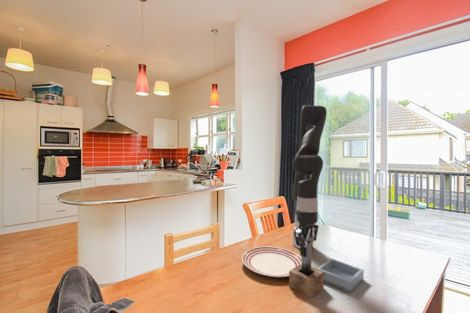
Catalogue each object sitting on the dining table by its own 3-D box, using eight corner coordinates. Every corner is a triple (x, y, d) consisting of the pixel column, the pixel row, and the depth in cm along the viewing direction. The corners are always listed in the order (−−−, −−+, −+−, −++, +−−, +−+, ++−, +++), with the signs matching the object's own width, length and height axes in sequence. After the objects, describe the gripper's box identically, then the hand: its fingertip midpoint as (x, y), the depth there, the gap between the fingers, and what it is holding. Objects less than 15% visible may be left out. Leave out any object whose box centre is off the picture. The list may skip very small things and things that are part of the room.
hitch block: (289, 286, 87) (289, 270, 87) (302, 278, 93) (302, 263, 93) (311, 297, 80) (311, 280, 80) (323, 287, 86) (323, 271, 86)
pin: (296, 275, 87) (297, 236, 86) (303, 271, 90) (304, 233, 90) (308, 281, 83) (309, 240, 83) (315, 276, 86) (316, 236, 86)
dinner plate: (315, 265, 104) (315, 258, 104) (283, 292, 84) (283, 283, 84) (265, 247, 123) (265, 241, 123) (229, 266, 103) (229, 258, 102)
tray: (316, 278, 93) (316, 268, 93) (331, 267, 101) (331, 258, 101) (350, 293, 83) (350, 282, 83) (363, 279, 92) (363, 269, 92)
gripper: (307, 204, 93) (307, 246, 94) (287, 210, 84) (286, 257, 84) (325, 207, 88) (325, 252, 88) (306, 214, 78) (305, 264, 79)
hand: (306, 254), depth 86 cm, fingers closed on pin, 3 cm apart
